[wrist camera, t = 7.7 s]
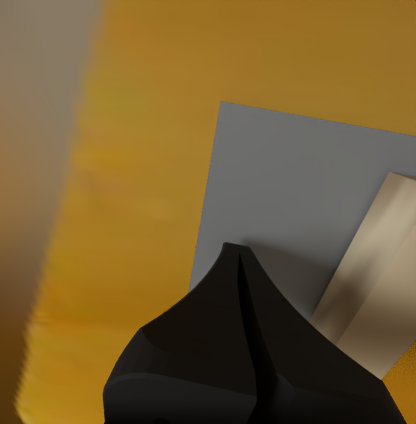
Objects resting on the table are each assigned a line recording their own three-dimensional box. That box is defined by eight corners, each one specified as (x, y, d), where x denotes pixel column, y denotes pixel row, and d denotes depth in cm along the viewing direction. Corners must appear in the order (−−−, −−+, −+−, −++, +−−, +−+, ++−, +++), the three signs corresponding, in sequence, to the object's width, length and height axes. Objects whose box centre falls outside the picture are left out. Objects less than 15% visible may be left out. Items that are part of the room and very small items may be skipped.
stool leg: (316, 391, 16) (329, 436, 13) (276, 382, 16) (282, 425, 14) (461, 185, 9) (535, 207, 7) (389, 171, 9) (438, 188, 7)
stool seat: (352, 384, 17) (360, 403, 16) (180, 346, 17) (176, 361, 16) (533, 158, 9) (572, 164, 8) (222, 103, 10) (220, 101, 9)
